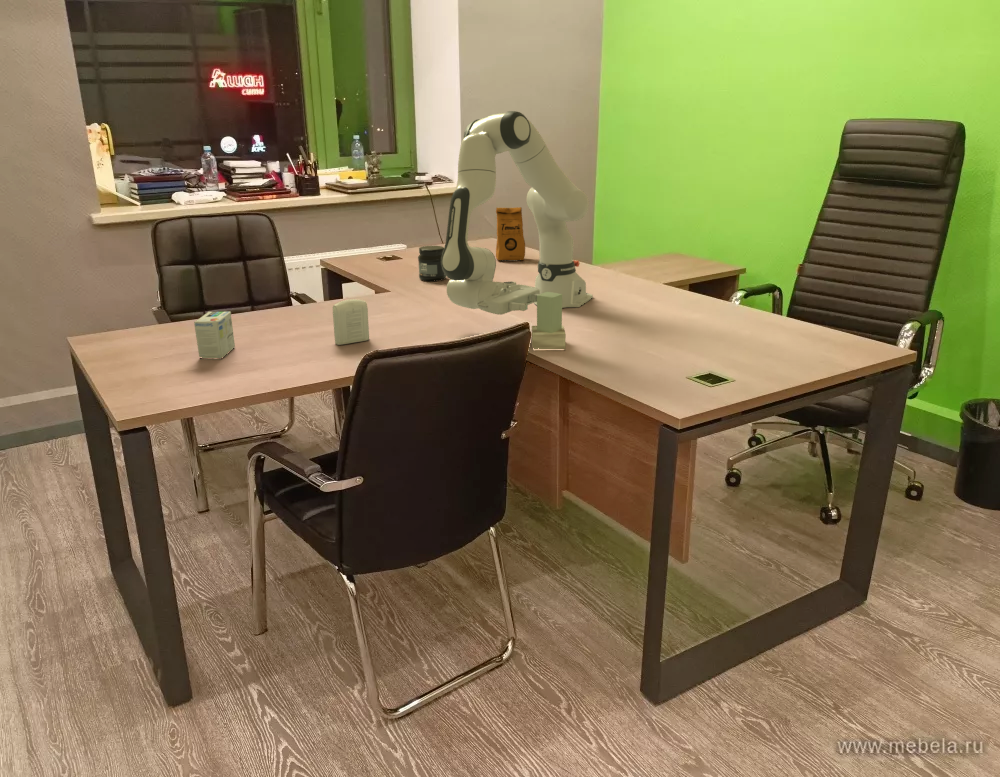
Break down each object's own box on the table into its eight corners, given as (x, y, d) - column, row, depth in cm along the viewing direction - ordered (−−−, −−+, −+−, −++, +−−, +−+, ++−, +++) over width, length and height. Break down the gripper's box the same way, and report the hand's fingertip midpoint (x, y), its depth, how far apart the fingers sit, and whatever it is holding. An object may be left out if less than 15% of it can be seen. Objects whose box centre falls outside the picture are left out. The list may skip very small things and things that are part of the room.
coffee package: (525, 262, 339) (525, 208, 332) (495, 262, 340) (494, 208, 332) (525, 257, 349) (525, 205, 341) (496, 257, 349) (495, 205, 341)
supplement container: (446, 275, 317) (445, 244, 312) (446, 281, 307) (445, 250, 302) (419, 276, 316) (418, 245, 312) (418, 282, 306) (416, 250, 302)
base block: (531, 342, 234) (531, 325, 232) (563, 342, 233) (563, 325, 232) (532, 352, 225) (532, 334, 223) (565, 351, 225) (565, 334, 223)
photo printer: (365, 337, 239) (362, 295, 235) (371, 340, 236) (369, 298, 232) (332, 343, 234) (329, 300, 230) (338, 346, 231) (335, 304, 226)
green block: (546, 326, 231) (547, 291, 228) (561, 329, 228) (562, 294, 225) (536, 330, 227) (537, 295, 224) (551, 333, 224) (552, 297, 221)
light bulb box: (212, 347, 231) (207, 310, 227) (236, 347, 231) (231, 310, 227) (198, 359, 221) (192, 321, 217) (223, 359, 221) (217, 321, 217)
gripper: (473, 293, 226) (514, 300, 219) (515, 280, 242) (554, 286, 234) (473, 315, 228) (514, 323, 221) (515, 300, 244) (554, 307, 236)
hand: (535, 303), depth 228 cm, fingers open, 8 cm apart
